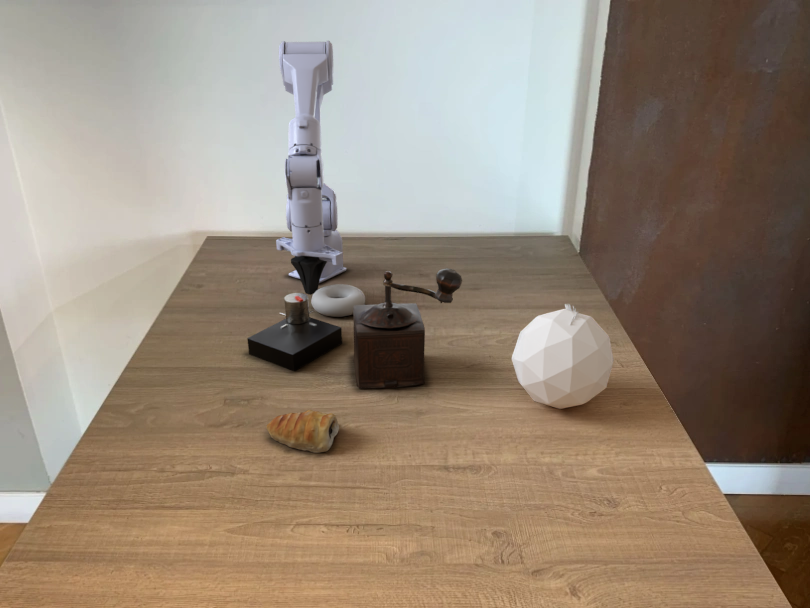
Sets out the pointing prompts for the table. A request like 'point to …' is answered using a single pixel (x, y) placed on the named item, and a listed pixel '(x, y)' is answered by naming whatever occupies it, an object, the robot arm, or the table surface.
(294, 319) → the stove knob
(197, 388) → the table surface
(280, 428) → the pastry
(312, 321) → the stove
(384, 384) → the manual coffee grinder
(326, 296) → the donut
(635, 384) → the table surface
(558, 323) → the geodesic sphere
